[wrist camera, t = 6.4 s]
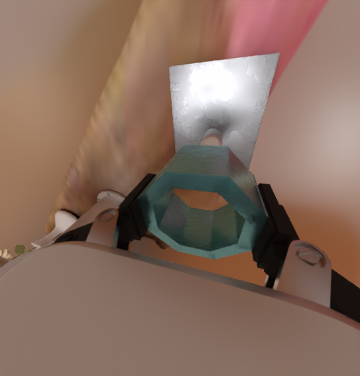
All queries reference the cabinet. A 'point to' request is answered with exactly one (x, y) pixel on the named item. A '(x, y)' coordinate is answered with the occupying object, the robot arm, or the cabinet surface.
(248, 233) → the ring
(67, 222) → the flower in vase
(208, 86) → the metal plate with knob
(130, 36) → the cabinet surface
